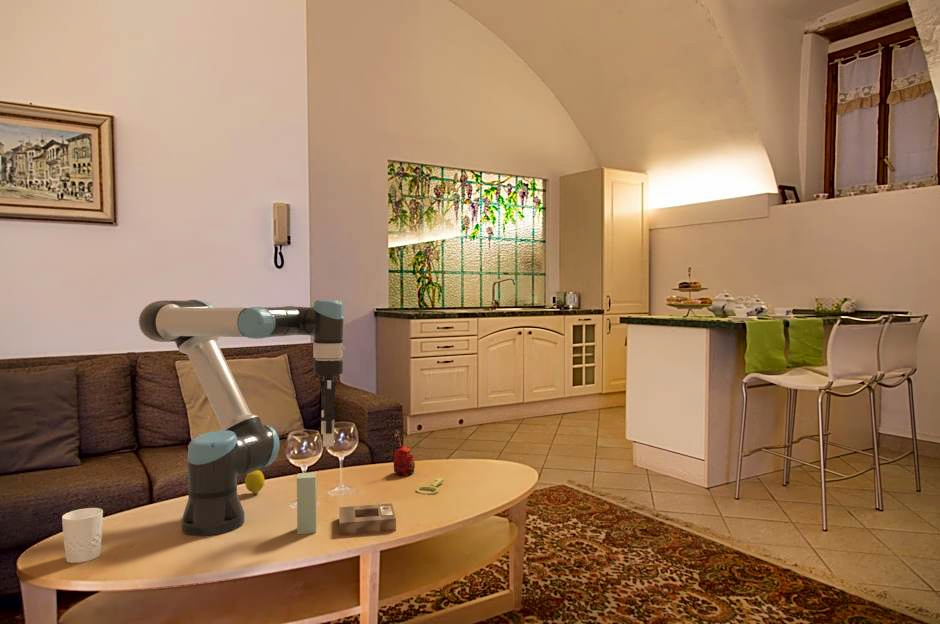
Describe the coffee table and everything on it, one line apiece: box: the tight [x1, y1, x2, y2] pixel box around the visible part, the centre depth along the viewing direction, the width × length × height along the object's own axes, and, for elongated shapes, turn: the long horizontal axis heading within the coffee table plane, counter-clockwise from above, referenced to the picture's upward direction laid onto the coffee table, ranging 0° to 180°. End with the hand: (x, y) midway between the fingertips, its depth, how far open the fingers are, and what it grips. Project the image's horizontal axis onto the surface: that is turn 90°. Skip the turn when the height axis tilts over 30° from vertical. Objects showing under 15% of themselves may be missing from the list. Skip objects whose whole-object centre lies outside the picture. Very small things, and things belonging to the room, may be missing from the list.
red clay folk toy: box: [393, 429, 416, 477], centre depth 208 cm, size 8×7×15 cm
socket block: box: [338, 503, 397, 536], centre depth 161 cm, size 14×12×3 cm
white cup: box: [61, 507, 104, 564], centre depth 141 cm, size 8×8×10 cm
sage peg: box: [296, 472, 318, 535], centre depth 157 cm, size 4×4×14 cm
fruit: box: [244, 470, 266, 495], centre depth 187 cm, size 6×6×8 cm
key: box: [415, 477, 444, 496], centre depth 192 cm, size 7×12×2 cm, turn 173°
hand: (327, 439), depth 163 cm, fingers open, 13 cm apart
